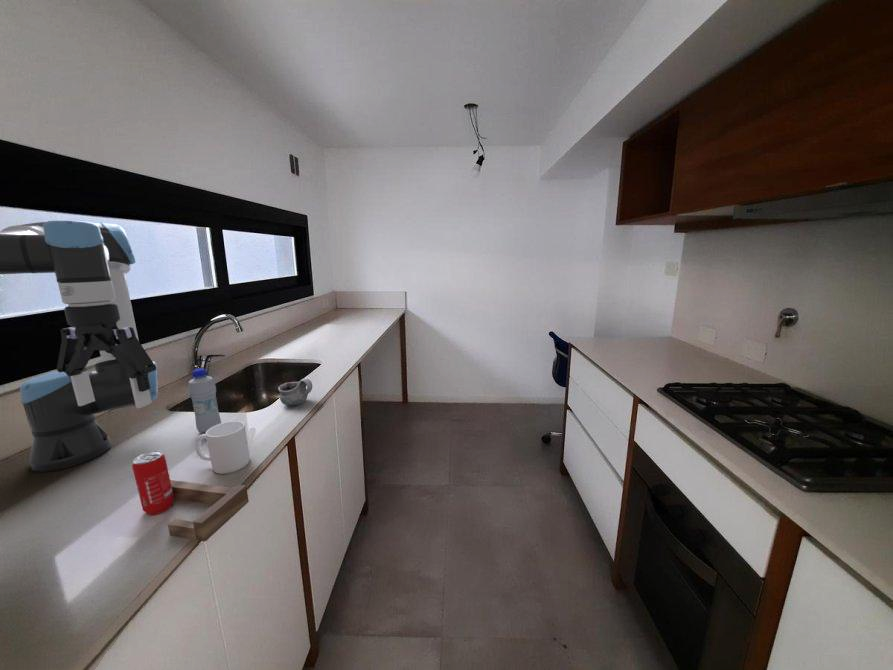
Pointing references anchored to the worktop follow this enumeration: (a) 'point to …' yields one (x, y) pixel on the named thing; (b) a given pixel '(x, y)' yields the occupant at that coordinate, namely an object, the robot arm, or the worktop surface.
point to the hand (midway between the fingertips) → (115, 404)
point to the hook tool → (214, 517)
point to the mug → (295, 392)
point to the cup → (225, 447)
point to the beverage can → (153, 482)
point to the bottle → (204, 400)
